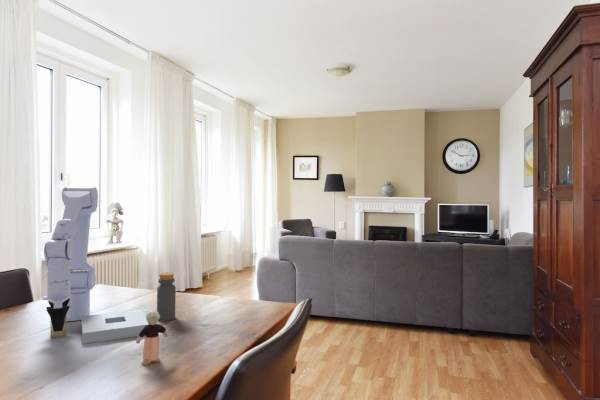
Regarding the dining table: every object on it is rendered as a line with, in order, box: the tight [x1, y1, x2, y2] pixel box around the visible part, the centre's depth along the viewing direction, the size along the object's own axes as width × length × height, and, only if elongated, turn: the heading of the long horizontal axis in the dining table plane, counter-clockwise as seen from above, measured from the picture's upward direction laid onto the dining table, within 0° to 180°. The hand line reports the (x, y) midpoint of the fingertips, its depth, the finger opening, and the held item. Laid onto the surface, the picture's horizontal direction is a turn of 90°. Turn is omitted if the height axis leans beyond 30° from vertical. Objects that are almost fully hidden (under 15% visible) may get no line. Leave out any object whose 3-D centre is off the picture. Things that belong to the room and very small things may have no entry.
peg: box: [49, 314, 67, 339], centre depth 119 cm, size 4×4×8 cm
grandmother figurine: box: [135, 309, 169, 366], centre depth 101 cm, size 8×4×13 cm, turn 139°
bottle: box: [156, 272, 177, 322], centre depth 136 cm, size 6×6×15 cm
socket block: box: [80, 308, 149, 345], centre depth 124 cm, size 18×18×3 cm
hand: (58, 327), depth 119 cm, fingers open, 7 cm apart
